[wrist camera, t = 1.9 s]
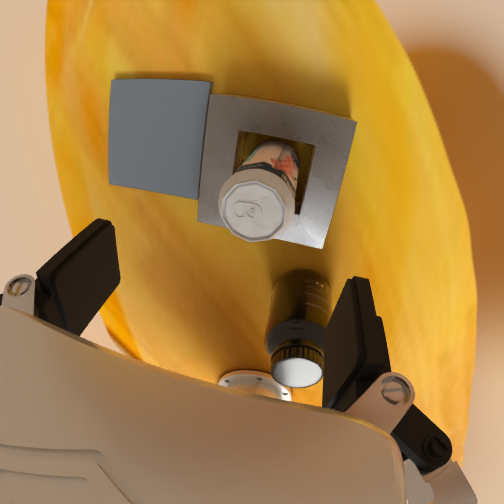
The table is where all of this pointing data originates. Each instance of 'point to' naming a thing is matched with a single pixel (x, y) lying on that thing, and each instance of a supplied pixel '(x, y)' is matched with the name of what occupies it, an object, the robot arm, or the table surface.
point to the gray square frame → (283, 126)
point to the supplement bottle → (298, 328)
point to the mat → (158, 134)
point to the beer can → (261, 193)
